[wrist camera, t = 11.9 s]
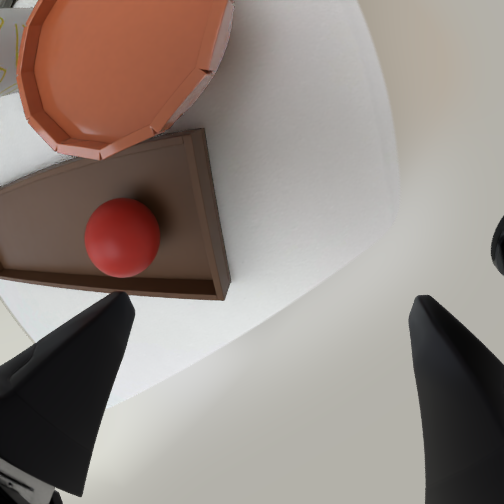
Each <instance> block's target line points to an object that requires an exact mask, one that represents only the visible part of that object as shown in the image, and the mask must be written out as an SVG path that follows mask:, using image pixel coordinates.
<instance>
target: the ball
mask: <svg viewBox="0 0 504 504" xmlns="http://www.w3.org/2000/svg"><path fill="white" fill-rule="evenodd" d="M159 246H160V229H159V225H158V222H157V220H156V218H155V216H154V214H153V213H152V212H151V210H150V209H149V208H148V207H147V206H145V205H144V204H142V203H141V202H139V201H137V200H134V199H130V198H116V199H112V200H109V201H107V202H105V203H103V204H102V205H100V206H99V207H98V208H97V209H96V210H95V211H94V212H93V214H92V215H91V217H90V218H89V220H88V223H87V225H86V230H85V247H86V251H87V253H88V256H89V258H90V260H91V261H92V263H93V264H94V265H95V266H96V267H97V268H98V269H99V270H100V271H102V272H103V273H105V274H107V275H110V276H113V277H118V278H126V277H131V276H134V275H137V274H139V273H141V272H142V271H144V270H145V269H146V268H147V267H148V266H149V265H150V264H151V263H152V262H153V260H154V259H155V257H156V255H157V252H158V249H159Z"/></svg>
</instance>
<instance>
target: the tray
mask: <svg viewBox="0 0 504 504" xmlns="http://www.w3.org/2000/svg"><path fill="white" fill-rule="evenodd" d="M116 198H130V199H134V200H137V201H139V202H141V203H142V204H144V205H145V206H147V207H148V208H149V209H150V210H151V212H152V213H153V214H154V216H155V218H156V220H157V222H158V225H159V229H160V246H159V249H158V252H157V255H156V257H155V259H154V260H153V262H152V263H151V264H150V265H149V266H148V267H147V268H146V269H145V270H144V271H142V272H141V273H139V274H137V275H134V276H131V277H126V278H118V277H113V276H110V275H107V274H105V273H103V272H102V271H100V270H99V269H98V268H97V267H96V266H95V265H94V264H93V263H92V261H91V260H90V258H89V256H88V253H87V251H86V247H85V230H86V225H87V223H88V220H89V218H90V217H91V215H92V214H93V212H94V211H95V210H96V209H97V208H98V207H99V206H100V205H102V204H103V203H105V202H107V201H109V200H112V199H116ZM0 279H4V280H10V281H16V282H23V283H29V284H36V285H44V286H51V287H59V288H67V289H75V290H84V291H93V292H103V293H112V292H114V291H124V292H126V293H127V294H128V295H137V296H149V297H163V298H179V299H198V300H221V301H224V300H225V297H226V294H227V291H228V288H229V285H230V283H231V278H230V273H229V268H228V263H227V257H226V252H225V247H224V241H223V236H222V230H221V225H220V219H219V214H218V208H217V203H216V197H215V191H214V185H213V179H212V173H211V167H210V161H209V155H208V149H207V143H206V136H205V130H204V128H200V129H194V130H188V131H182V132H176V133H171V134H166V135H161V136H156V137H152V138H149V139H147V140H145V141H142V142H140V143H138V144H136V145H133V146H131V147H129V148H127V149H125V150H123V151H121V152H119V153H117V154H115V155H112V156H110V157H108V158H106V159H104V160H103V159H102V160H100V161H99V160H94V159H88V158H83V157H77V158H73V159H70V160H67V161H65V162H62V163H59V164H56V165H53V166H51V167H48V168H45V169H43V170H40V171H37V172H35V173H32V174H30V175H28V176H25V177H23V178H20V179H18V180H16V181H14V182H11V183H9V184H7V185H5V186H3V187H0Z"/></svg>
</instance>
